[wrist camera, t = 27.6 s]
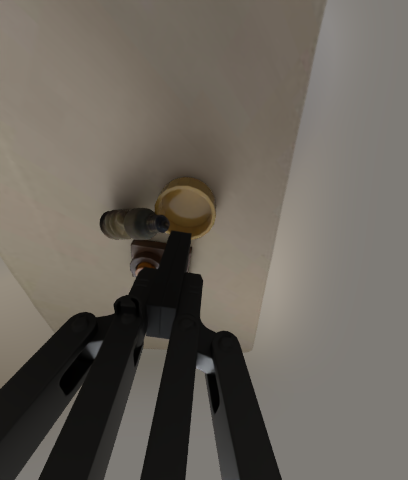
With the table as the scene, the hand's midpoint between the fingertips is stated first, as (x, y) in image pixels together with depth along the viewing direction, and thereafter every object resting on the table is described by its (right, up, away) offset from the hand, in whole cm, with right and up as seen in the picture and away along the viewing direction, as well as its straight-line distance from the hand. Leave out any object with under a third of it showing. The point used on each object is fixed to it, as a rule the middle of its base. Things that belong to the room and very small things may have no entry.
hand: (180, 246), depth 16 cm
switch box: (-7, -4, +31) cm, 32 cm away
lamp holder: (-1, +7, +23) cm, 24 cm away
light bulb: (-3, +3, +16) cm, 17 cm away
